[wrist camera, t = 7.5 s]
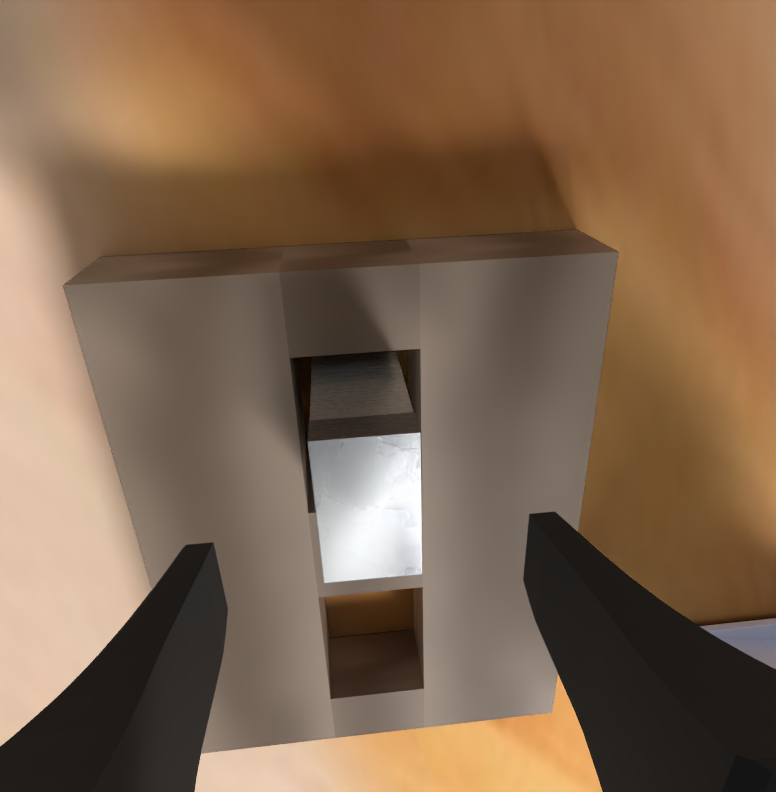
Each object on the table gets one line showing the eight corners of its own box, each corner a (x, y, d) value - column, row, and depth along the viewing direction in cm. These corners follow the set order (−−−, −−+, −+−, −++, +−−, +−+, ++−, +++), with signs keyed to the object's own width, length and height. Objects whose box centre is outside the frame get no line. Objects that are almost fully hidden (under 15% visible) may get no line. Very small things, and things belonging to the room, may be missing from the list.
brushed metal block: (390, 327, 20) (420, 432, 14) (394, 439, 22) (421, 574, 16) (312, 333, 20) (307, 441, 14) (323, 445, 22) (323, 583, 16)
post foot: (577, 229, 19) (618, 251, 17) (530, 654, 28) (552, 712, 26) (100, 257, 18) (62, 285, 16) (212, 689, 27) (200, 753, 25)
